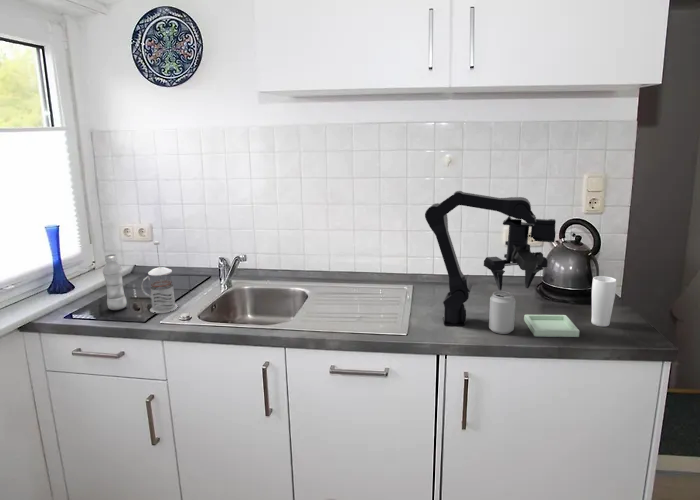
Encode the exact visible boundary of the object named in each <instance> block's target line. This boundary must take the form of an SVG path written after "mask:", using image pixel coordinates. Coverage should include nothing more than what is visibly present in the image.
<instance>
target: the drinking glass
mask: <svg viewBox="0 0 700 500" xmlns="http://www.w3.org/2000/svg"><path fill="white" fill-rule="evenodd" d="M616 293H617V279H616V278H615V277H611V276H606V275H605V276H604V275H597V276H593V278H592V283H591V320H590V321H591V324H592V325H593V326H597V327H599V328H600V327H604V328H605V327H609V325H610V324H611V317H612V313H613V307H614V302H615V298H616Z"/></svg>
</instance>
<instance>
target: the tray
mask: <svg viewBox="0 0 700 500" xmlns="http://www.w3.org/2000/svg"><path fill="white" fill-rule="evenodd" d="M523 321H524V322H525V325H526V326H527V328H529V330H530V332H531V333H532V335H533V337H541V338H542V337H545V338H546V337H549V338H550V337H553V338H554V337H555V338H557V337H559V338H561V337H562V338H579V337H580V329H578V327H577V326H576V325H575V323H574V322H573V321H572V320H571V319H570V318H569V317H568V316H567V315H566V314H524V317H523Z"/></svg>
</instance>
